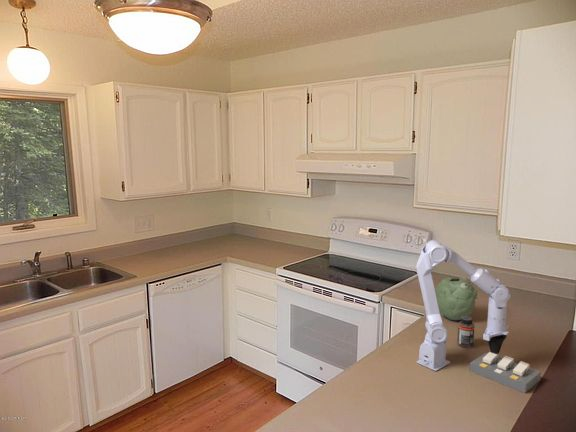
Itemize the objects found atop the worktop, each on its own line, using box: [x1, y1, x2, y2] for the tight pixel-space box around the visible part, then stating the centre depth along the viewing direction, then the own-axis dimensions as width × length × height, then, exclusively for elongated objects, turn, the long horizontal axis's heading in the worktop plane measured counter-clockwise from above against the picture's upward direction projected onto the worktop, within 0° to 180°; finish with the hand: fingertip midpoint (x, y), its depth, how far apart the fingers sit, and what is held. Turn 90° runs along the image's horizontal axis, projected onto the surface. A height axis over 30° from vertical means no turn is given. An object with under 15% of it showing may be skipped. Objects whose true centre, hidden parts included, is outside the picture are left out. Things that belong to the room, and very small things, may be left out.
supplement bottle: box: [457, 315, 476, 349], centre depth 163 cm, size 6×6×11 cm
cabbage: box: [435, 276, 478, 321], centre depth 189 cm, size 16×19×20 cm
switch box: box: [469, 351, 542, 394], centre depth 141 cm, size 12×18×5 cm, turn 39°
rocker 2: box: [497, 355, 515, 370], centre depth 141 cm, size 6×3×1 cm, turn 129°
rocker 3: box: [513, 360, 530, 376], centre depth 137 cm, size 6×3×1 cm, turn 129°
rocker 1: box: [483, 351, 500, 364], centre depth 145 cm, size 6×3×1 cm, turn 129°
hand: (494, 353), depth 147 cm, fingers closed, pressing on rocker 1
